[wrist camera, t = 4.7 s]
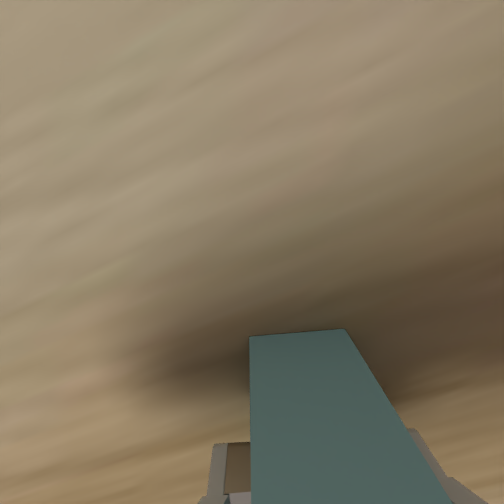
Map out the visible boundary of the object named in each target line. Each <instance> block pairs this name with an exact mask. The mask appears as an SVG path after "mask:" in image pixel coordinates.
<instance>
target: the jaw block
mask: <svg viewBox="0 0 504 504" xmlns="http://www.w3.org/2000/svg"><path fill="white" fill-rule="evenodd" d="M249 355H250V447H251V504H453V503H452V502H451V500H450V498H449V497H448V495H447V493H446V492H445V490H444V489H443V487H442V485H441V484H440V482H439V481H438V479H437V477H436V476H435V474H434V472H433V471H432V469H431V468H430V466H429V464H428V463H427V461H426V459H425V458H424V456H423V455H422V453H421V451H420V450H419V448H418V447H417V445H416V443H415V442H414V440H413V438H412V437H411V435H410V434H409V432H408V430H407V429H406V427H405V425H404V424H403V422H402V421H401V419H400V417H399V416H398V414H397V413H396V411H395V409H394V408H393V406H392V404H391V403H390V401H389V400H388V398H387V396H386V395H385V393H384V392H383V390H382V388H381V387H380V385H379V383H378V382H377V380H376V379H375V377H374V375H373V374H372V372H371V370H370V369H369V367H368V366H367V364H366V362H365V361H364V359H363V358H362V356H361V354H360V353H359V351H358V349H357V348H356V346H355V345H354V343H353V341H352V340H351V338H350V336H349V335H348V333H347V332H346V330H345V329H335V330H323V331H310V332H298V333H286V334H274V335H262V336H250V337H249Z"/></svg>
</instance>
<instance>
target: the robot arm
mask: <svg viewBox="0 0 504 504" xmlns="http://www.w3.org/2000/svg"><path fill="white" fill-rule="evenodd" d="M407 430H408V432H409V434H410V435H411V437H412V438H413V440H414V442H415V443H416V445H417V447H418V448H419V450H420V451H421V453H422V455H423V456H424V458H425V459H426V461H427V463H428V464H429V466H430V468H431V469H432V471H433V472H434V474H435V476H436V477H437V479H438V481H439V482H440V484H441V485H442V487H443V489H444V490H445V492H446V493H447V495H448V497H449V498H450V500H451V502H452V503H453V504H488V503H487V502H485V501H484V500H483V499H481V498H480V497H479V496H477V495H476V494H475V493H473V492H472V491H471V490H469V489H468V488H466V487H465V486H464V485H462V484H461V483H460V482H458V481H457V480H456V479H454V478H453V477H447V475H446V474H445V472H444V471H443V469H442V468H441V466H440V465H439V463H438V462H437V460H436V459H435V457H434V456H433V454H432V453H431V451H430V450H429V448H428V447H427V445H426V444H425V442H424V441H423V439H422V438H421V436H420V435H419V433H418V432H417V430H415V429H414V428H409V429H407ZM198 504H251V447H250V442H235V443H219V444H214V446H213V450H212V457H211V465H210V473H209V481H208V489H207V496H203V497H202V498H201V499H200V501H199V502H198Z"/></svg>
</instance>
